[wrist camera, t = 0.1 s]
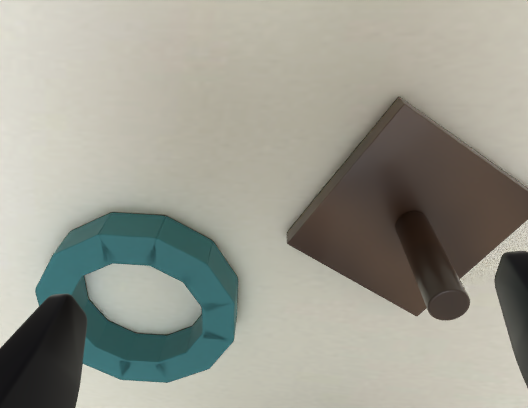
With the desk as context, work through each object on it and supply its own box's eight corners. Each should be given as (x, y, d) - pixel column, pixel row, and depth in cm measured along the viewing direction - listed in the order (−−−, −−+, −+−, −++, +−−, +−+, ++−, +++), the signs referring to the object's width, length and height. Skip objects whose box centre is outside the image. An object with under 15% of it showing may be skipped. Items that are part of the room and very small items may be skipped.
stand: (412, 303, 30) (450, 408, 23) (286, 232, 27) (288, 326, 21) (535, 193, 25) (625, 283, 19) (398, 96, 23) (447, 159, 16)
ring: (184, 375, 34) (178, 404, 32) (30, 307, 31) (12, 334, 29) (272, 272, 29) (272, 298, 27) (97, 178, 26) (81, 198, 24)
